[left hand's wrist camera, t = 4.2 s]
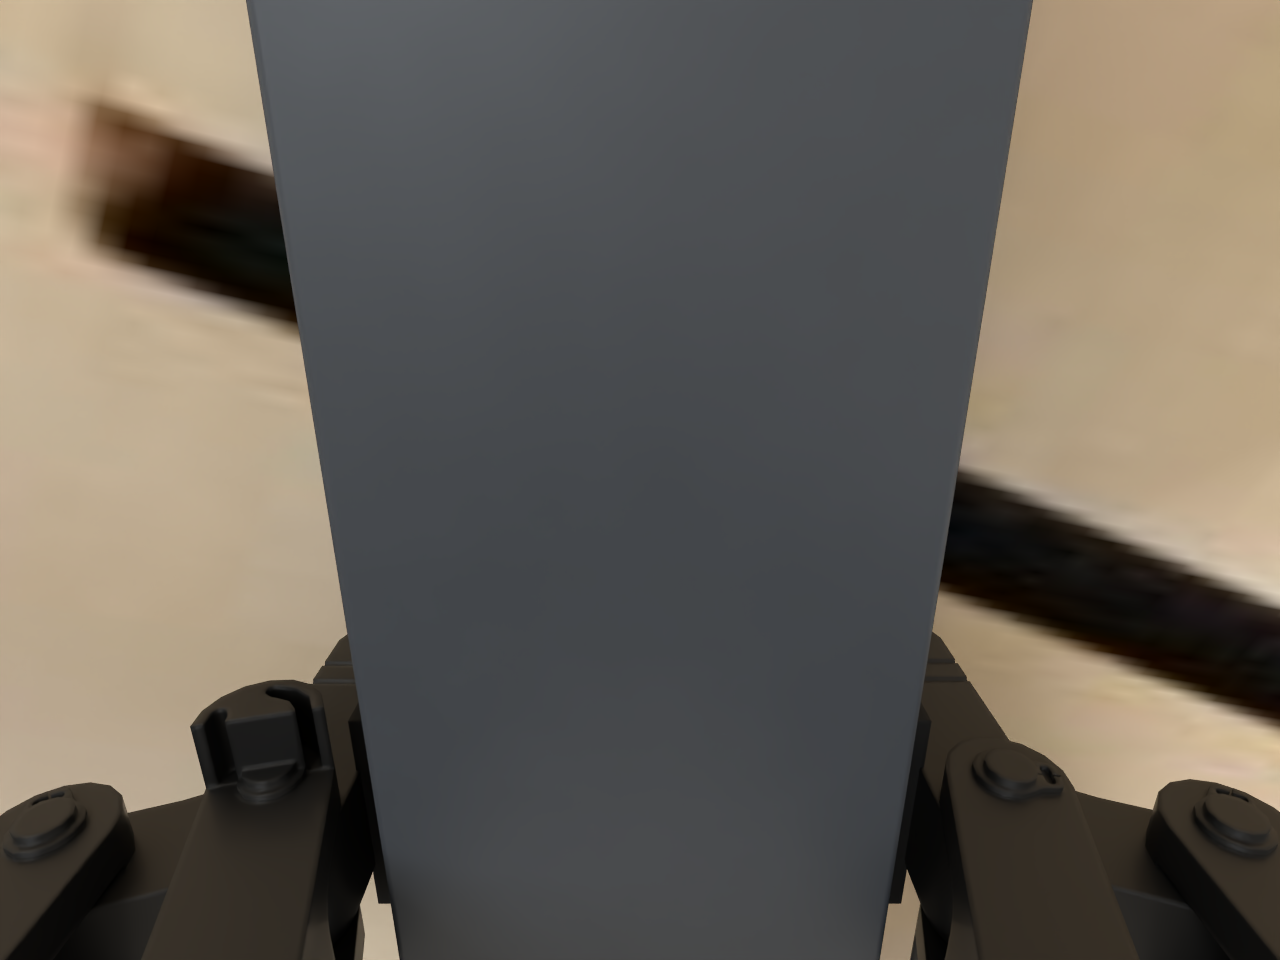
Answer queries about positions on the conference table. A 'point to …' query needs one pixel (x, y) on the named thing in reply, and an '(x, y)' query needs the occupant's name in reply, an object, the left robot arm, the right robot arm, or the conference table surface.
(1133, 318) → the conference table surface
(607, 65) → the beam
